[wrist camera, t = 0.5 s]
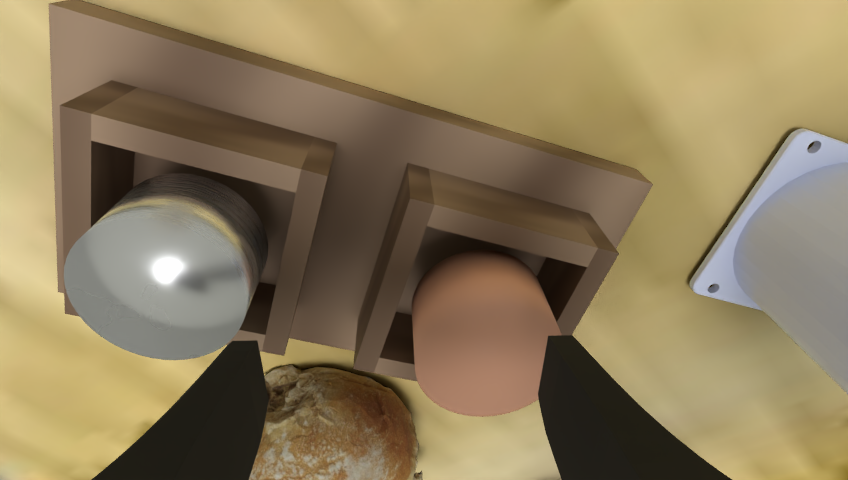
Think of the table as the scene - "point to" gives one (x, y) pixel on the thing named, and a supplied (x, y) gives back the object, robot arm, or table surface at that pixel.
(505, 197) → the brown wooden tray
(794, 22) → the table surface
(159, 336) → the grey plunger
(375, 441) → the bread roll
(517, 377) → the tan rounded piece
